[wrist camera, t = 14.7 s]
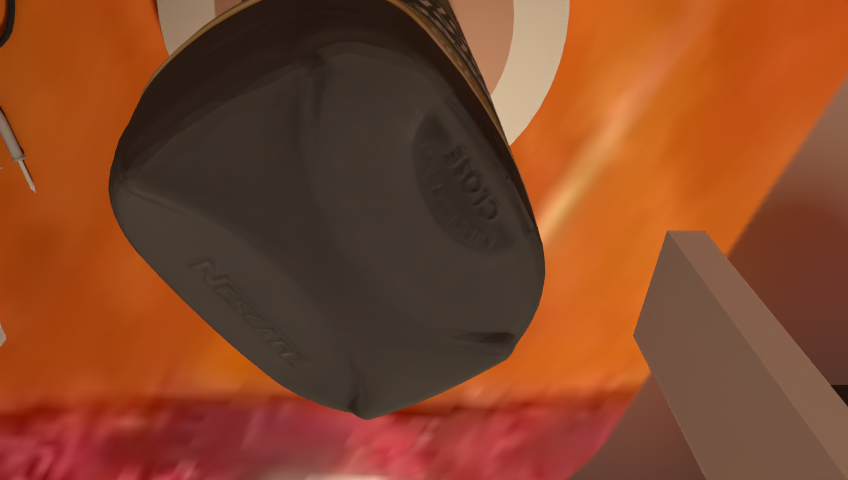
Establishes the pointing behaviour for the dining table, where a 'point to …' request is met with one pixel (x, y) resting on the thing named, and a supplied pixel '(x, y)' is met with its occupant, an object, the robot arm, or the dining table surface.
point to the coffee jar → (335, 198)
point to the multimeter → (3, 127)
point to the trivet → (485, 34)
